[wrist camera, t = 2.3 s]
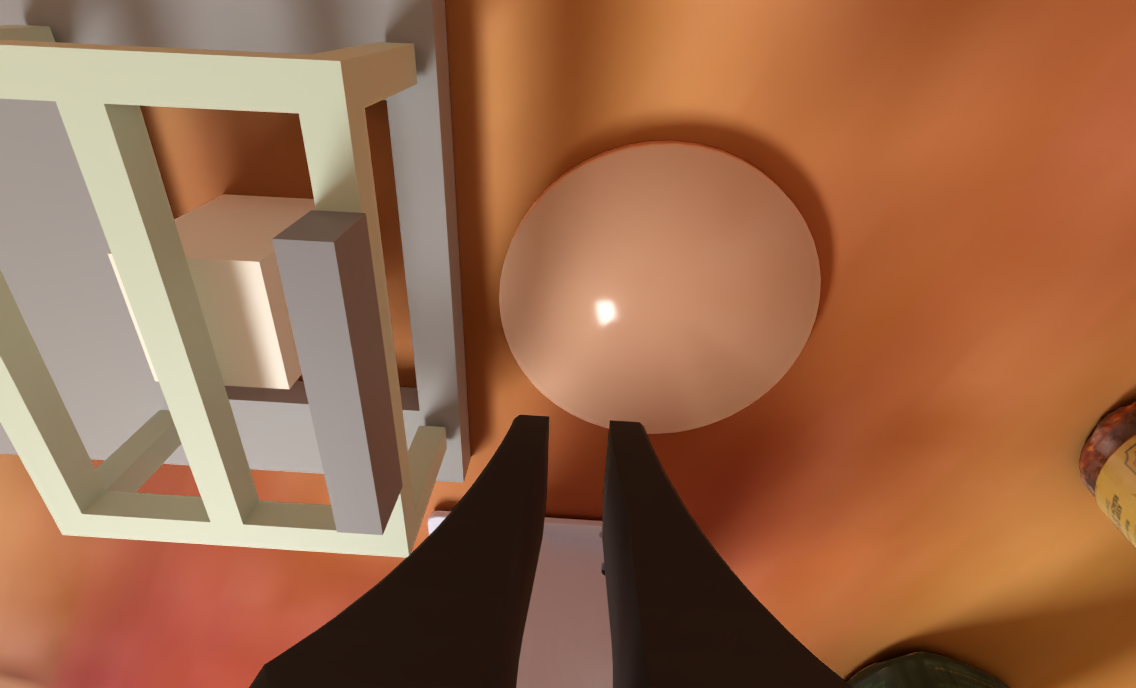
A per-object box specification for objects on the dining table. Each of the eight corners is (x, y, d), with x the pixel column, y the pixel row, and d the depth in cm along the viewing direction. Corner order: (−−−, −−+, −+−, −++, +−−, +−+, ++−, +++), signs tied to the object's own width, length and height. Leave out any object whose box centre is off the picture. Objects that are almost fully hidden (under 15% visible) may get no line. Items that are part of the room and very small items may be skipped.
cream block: (339, 200, 20) (259, 261, 15) (356, 305, 22) (289, 389, 17) (223, 194, 20) (107, 253, 15) (250, 299, 22) (154, 381, 17)
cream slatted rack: (417, 44, 16) (304, 71, 10) (449, 447, 23) (395, 609, 17) (13, 24, 16) (-340, 39, 10) (167, 430, 23) (13, 583, 17)
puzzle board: (442, -41, 16) (429, -44, 15) (470, 458, 26) (463, 482, 24) (-359, -76, 17) (-437, -82, 16) (-53, 425, 26) (-87, 447, 25)
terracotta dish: (851, 149, 18) (861, 155, 18) (775, 429, 24) (781, 442, 23) (499, 131, 19) (495, 136, 18) (504, 413, 24) (501, 425, 24)
